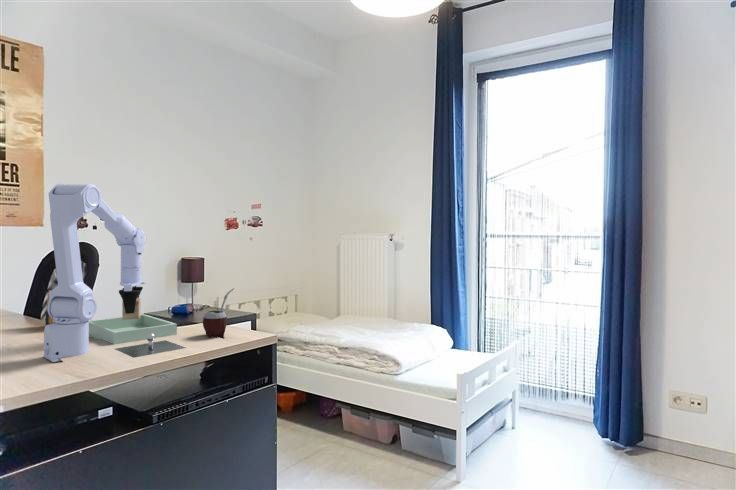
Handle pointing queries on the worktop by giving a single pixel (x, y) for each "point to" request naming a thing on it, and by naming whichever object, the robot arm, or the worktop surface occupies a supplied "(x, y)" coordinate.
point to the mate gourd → (215, 321)
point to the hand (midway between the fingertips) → (131, 311)
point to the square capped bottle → (131, 315)
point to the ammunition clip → (48, 318)
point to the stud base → (149, 347)
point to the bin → (130, 329)
